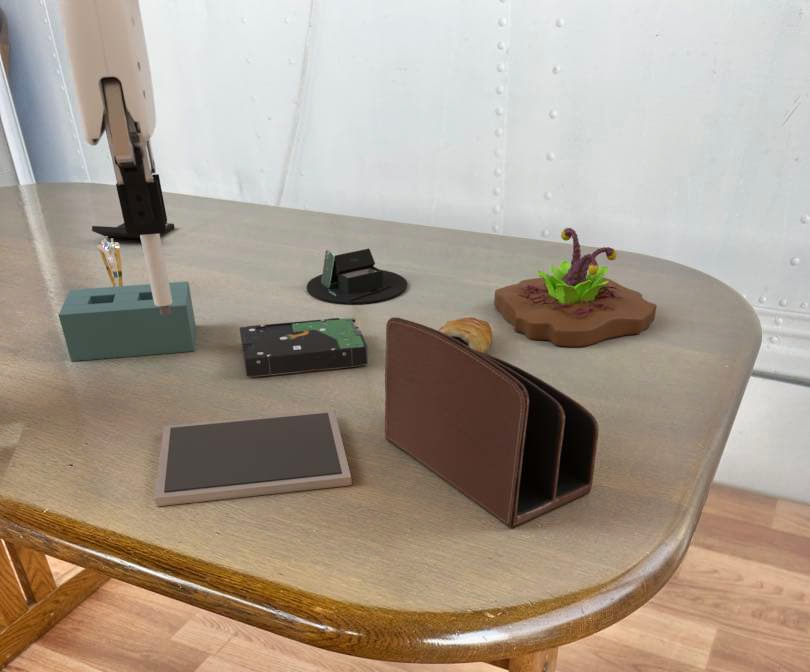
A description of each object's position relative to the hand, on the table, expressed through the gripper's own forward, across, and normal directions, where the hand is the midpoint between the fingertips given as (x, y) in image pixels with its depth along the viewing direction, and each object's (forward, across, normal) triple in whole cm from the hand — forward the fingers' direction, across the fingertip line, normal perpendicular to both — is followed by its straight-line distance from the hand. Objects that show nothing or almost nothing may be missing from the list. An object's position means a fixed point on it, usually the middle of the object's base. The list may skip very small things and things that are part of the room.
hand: (147, 228), depth 68 cm
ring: (+22, -50, -12) cm, 56 cm away
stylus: (+8, 0, 0) cm, 8 cm away
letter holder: (+23, +8, +28) cm, 37 cm away
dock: (+22, -31, -8) cm, 39 cm away
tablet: (+22, +2, +6) cm, 23 cm away
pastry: (+23, -20, +33) cm, 45 cm away
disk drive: (+22, -22, +13) cm, 34 cm away
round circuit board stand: (+22, -46, +23) cm, 56 cm away
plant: (+23, -28, +50) cm, 62 cm away
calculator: (+22, -81, -11) cm, 85 cm away
